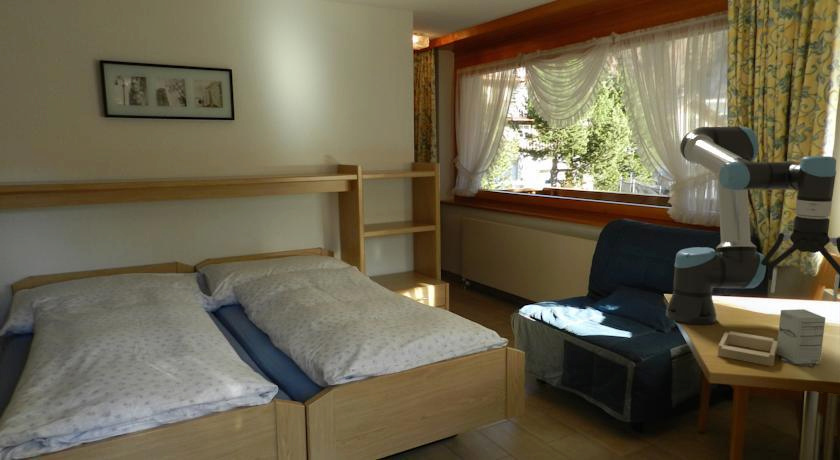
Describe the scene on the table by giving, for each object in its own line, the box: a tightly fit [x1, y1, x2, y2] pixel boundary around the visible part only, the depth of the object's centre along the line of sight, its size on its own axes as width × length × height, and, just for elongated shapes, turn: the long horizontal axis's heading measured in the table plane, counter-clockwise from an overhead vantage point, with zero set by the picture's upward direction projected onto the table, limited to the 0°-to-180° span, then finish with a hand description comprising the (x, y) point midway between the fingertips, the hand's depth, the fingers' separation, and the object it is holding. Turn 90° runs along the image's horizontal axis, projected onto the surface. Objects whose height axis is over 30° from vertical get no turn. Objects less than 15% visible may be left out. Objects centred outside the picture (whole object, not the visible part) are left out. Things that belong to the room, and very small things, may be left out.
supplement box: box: [776, 308, 826, 365], centre depth 151 cm, size 7×7×13 cm
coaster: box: [780, 356, 814, 368], centre depth 152 cm, size 7×7×1 cm
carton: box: [717, 331, 778, 367], centre depth 157 cm, size 13×17×3 cm
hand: (802, 295), depth 150 cm, fingers open, 13 cm apart
